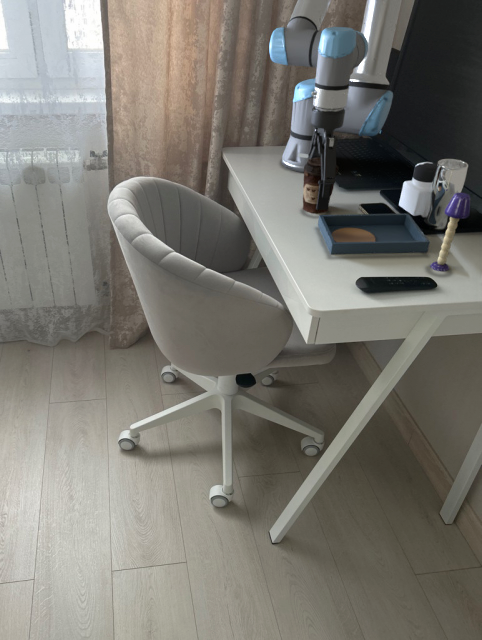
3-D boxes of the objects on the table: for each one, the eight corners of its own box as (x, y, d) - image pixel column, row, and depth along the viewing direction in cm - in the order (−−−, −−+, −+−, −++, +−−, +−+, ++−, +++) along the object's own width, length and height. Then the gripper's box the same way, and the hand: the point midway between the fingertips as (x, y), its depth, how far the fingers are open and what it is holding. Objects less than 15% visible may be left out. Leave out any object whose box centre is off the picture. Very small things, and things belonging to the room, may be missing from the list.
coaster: (327, 229, 135) (327, 228, 134) (368, 228, 135) (369, 227, 135) (336, 248, 127) (336, 247, 127) (380, 247, 127) (380, 246, 127)
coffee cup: (331, 220, 141) (339, 168, 132) (297, 218, 142) (303, 166, 133) (332, 206, 147) (339, 156, 139) (300, 204, 148) (305, 153, 140)
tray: (317, 228, 137) (319, 214, 135) (405, 226, 138) (408, 213, 135) (330, 258, 126) (332, 243, 123) (426, 256, 126) (430, 241, 124)
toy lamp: (429, 263, 123) (450, 188, 113) (451, 267, 122) (475, 192, 111) (427, 273, 120) (448, 197, 109) (450, 277, 119) (474, 201, 108)
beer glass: (415, 222, 139) (430, 161, 130) (437, 217, 142) (454, 156, 132) (434, 233, 135) (452, 171, 125) (457, 228, 137) (476, 166, 127)
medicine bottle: (437, 215, 142) (450, 168, 135) (412, 219, 141) (424, 171, 133) (421, 204, 148) (433, 158, 140) (397, 208, 146) (407, 161, 138)
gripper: (303, 94, 138) (294, 180, 151) (323, 122, 119) (311, 218, 132) (333, 94, 138) (321, 180, 152) (358, 122, 119) (342, 218, 132)
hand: (316, 198), depth 142 cm, fingers open, 13 cm apart
